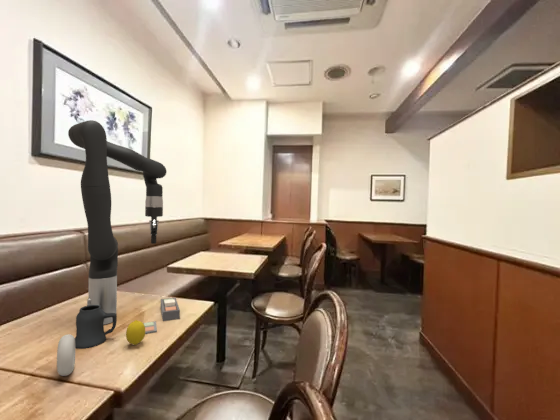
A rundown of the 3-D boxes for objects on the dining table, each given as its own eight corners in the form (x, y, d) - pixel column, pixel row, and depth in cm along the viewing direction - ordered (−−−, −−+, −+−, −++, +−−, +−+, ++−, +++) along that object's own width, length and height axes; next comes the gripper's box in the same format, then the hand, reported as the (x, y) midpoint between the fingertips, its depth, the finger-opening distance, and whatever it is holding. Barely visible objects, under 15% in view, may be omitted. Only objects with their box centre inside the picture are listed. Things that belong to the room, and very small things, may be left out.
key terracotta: (165, 316, 111) (165, 310, 111) (165, 313, 115) (165, 307, 115) (176, 315, 113) (176, 309, 113) (175, 312, 117) (175, 306, 117)
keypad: (162, 321, 110) (162, 312, 110) (160, 307, 125) (160, 299, 125) (179, 318, 113) (179, 310, 113) (175, 305, 128) (175, 297, 128)
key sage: (163, 307, 121) (164, 302, 121) (163, 304, 125) (163, 299, 125) (173, 306, 123) (174, 301, 123) (173, 303, 126) (173, 298, 126)
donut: (60, 366, 78) (61, 330, 78) (75, 362, 80) (76, 327, 80) (55, 385, 70) (55, 345, 70) (72, 381, 72) (73, 342, 71)
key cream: (164, 309, 116) (164, 303, 116) (164, 306, 120) (164, 300, 120) (175, 307, 118) (175, 302, 118) (174, 304, 122) (174, 299, 122)
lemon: (137, 350, 88) (137, 324, 87) (121, 348, 89) (122, 322, 89) (148, 342, 93) (149, 317, 93) (134, 340, 94) (134, 316, 94)
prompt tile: (141, 334, 98) (141, 332, 98) (141, 324, 106) (141, 322, 106) (156, 332, 100) (156, 329, 100) (156, 322, 108) (156, 320, 108)
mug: (67, 350, 87) (68, 313, 87) (78, 337, 95) (79, 304, 95) (112, 345, 90) (113, 310, 90) (118, 333, 99) (119, 301, 99)
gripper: (145, 206, 137) (144, 242, 137) (145, 206, 125) (144, 245, 125) (162, 206, 140) (161, 241, 141) (163, 206, 128) (163, 244, 129)
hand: (153, 243), depth 133 cm, fingers closed
